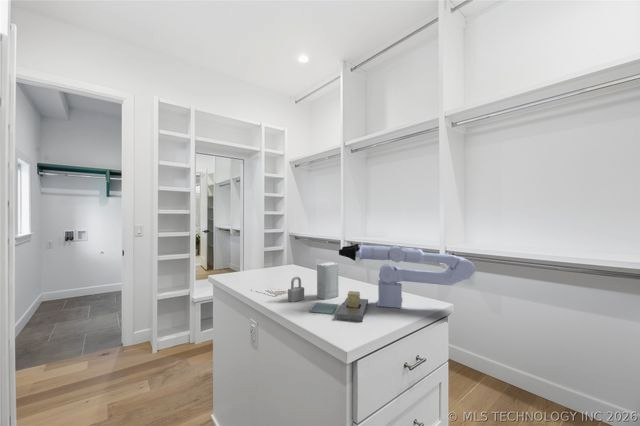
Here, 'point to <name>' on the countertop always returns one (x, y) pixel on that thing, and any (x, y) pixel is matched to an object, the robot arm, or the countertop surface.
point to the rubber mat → (324, 308)
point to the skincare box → (327, 280)
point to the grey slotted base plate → (352, 311)
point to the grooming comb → (277, 292)
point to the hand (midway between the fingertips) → (340, 250)
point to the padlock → (295, 291)
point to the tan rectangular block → (354, 299)
